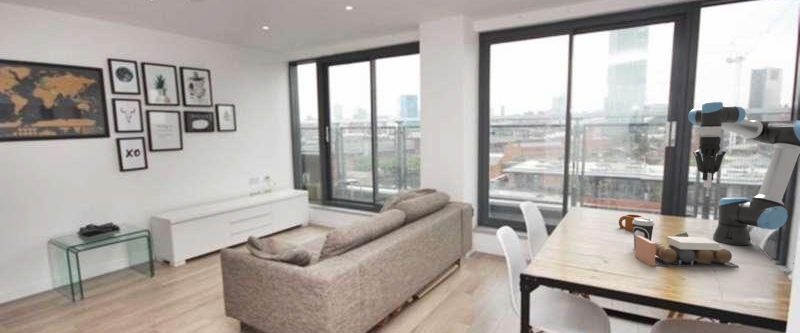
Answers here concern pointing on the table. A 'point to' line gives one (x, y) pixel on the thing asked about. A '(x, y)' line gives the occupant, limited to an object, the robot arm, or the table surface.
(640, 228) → the coffee cup
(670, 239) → the slab
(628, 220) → the mug
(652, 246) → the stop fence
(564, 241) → the table surface
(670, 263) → the roller bed
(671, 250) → the roller
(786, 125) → the robot arm
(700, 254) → the roller
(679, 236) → the mineral specimen
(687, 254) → the roller
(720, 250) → the roller
